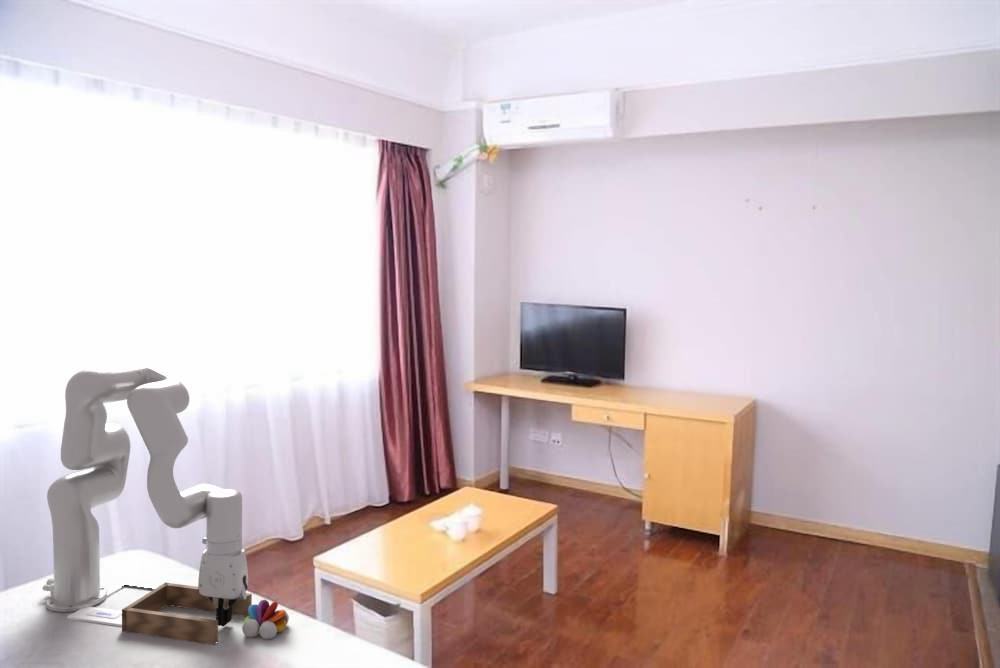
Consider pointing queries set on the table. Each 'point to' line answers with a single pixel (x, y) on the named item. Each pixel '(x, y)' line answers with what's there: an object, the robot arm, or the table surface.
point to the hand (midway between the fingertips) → (224, 623)
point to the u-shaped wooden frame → (174, 626)
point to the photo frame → (101, 612)
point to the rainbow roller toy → (264, 620)
